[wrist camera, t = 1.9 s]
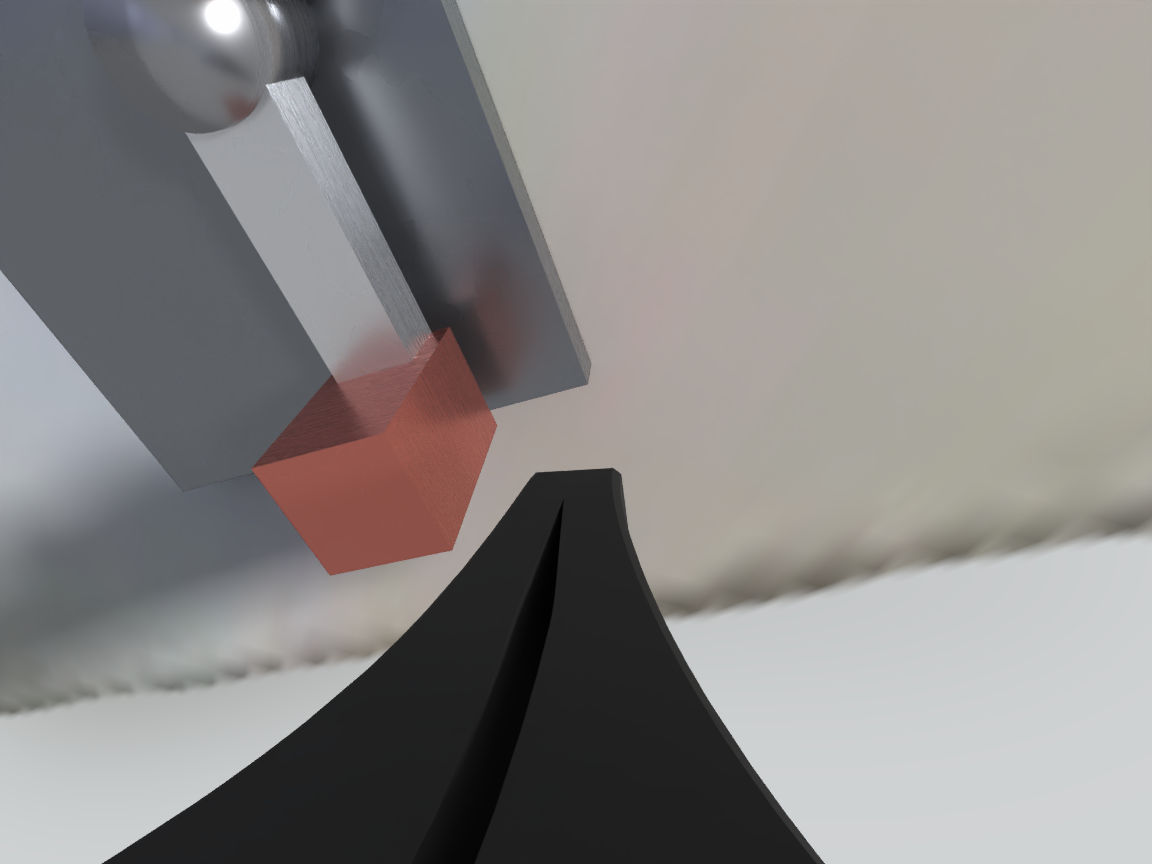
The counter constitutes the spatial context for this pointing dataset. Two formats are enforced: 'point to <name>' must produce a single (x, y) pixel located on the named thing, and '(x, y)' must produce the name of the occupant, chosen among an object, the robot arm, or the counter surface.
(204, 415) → the base
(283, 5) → the lever
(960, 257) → the counter surface
